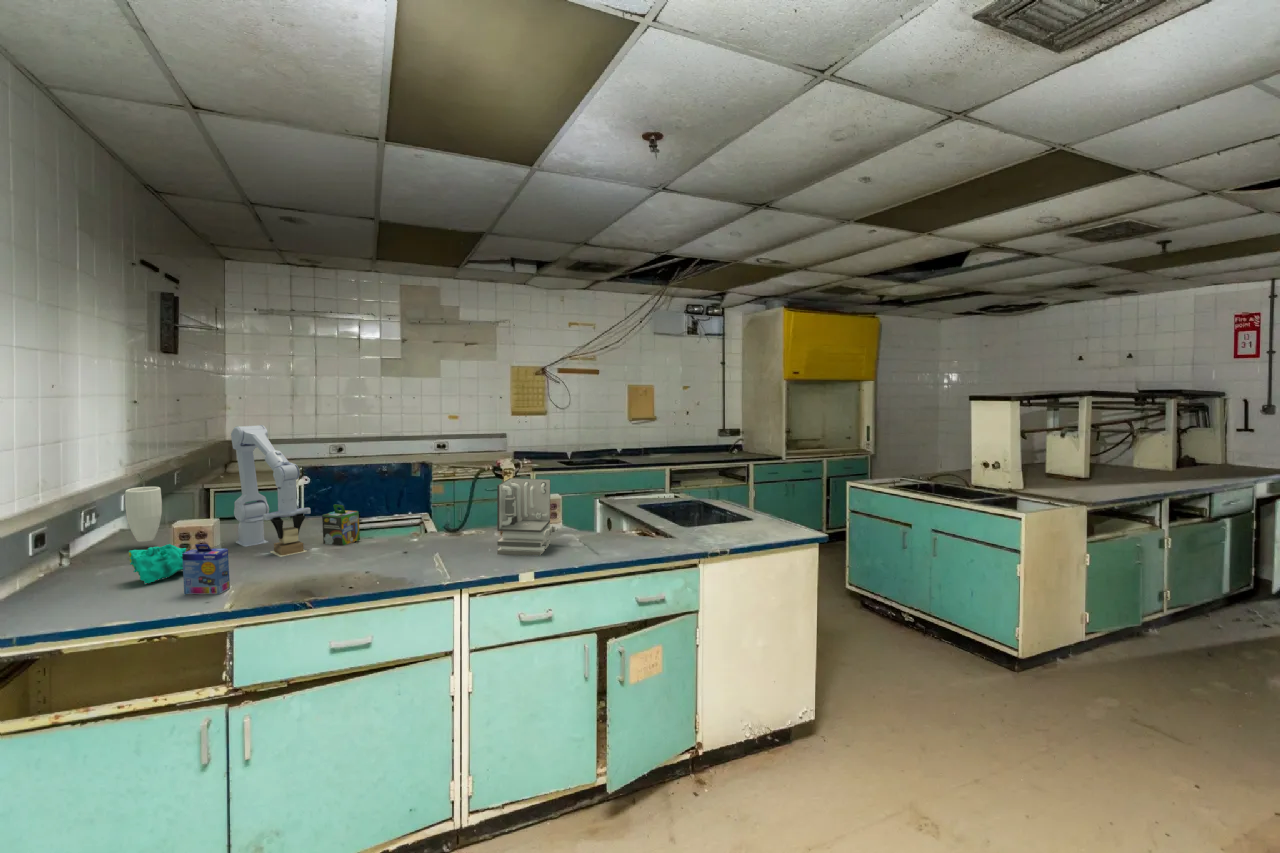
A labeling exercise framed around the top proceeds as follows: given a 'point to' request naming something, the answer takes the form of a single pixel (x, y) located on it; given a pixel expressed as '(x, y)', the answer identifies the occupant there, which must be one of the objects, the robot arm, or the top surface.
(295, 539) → the maple cube
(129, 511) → the cup
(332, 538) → the chalk box
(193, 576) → the ink cartridge box
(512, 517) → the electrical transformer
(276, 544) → the brown square wooden block
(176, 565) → the teal lumpy piece
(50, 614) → the top surface
